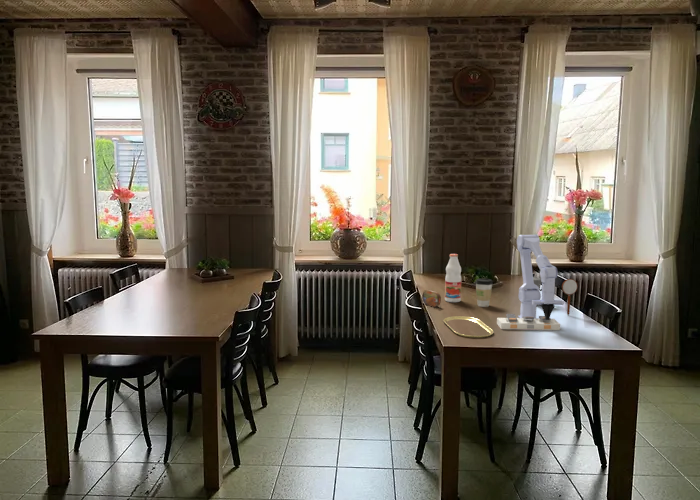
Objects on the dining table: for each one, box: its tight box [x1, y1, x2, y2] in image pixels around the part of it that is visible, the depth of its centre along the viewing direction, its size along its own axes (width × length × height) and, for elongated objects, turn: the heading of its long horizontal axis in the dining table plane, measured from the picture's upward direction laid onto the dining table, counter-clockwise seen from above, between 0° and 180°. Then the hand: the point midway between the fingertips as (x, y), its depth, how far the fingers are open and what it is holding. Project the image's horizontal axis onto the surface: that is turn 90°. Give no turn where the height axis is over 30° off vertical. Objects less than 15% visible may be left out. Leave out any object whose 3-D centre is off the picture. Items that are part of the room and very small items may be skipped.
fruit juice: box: [444, 253, 462, 303], centre depth 317 cm, size 9×9×28 cm
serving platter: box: [443, 315, 494, 339], centre depth 262 cm, size 19×35×2 cm, turn 6°
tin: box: [421, 289, 442, 308], centre depth 308 cm, size 15×3×8 cm, turn 27°
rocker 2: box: [538, 315, 552, 320], centre depth 262 cm, size 6×4×1 cm, turn 176°
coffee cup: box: [474, 278, 494, 308], centre depth 306 cm, size 10×10×15 cm
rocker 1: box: [505, 313, 518, 321], centre depth 263 cm, size 6×4×1 cm, turn 176°
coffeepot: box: [528, 273, 542, 307], centre depth 310 cm, size 15×9×18 cm, turn 107°
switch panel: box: [496, 317, 561, 331], centre depth 263 cm, size 10×28×4 cm, turn 86°
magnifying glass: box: [561, 278, 579, 317], centre depth 283 cm, size 9×2×20 cm, turn 96°
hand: (547, 319), depth 258 cm, fingers closed, pressing on rocker 2
